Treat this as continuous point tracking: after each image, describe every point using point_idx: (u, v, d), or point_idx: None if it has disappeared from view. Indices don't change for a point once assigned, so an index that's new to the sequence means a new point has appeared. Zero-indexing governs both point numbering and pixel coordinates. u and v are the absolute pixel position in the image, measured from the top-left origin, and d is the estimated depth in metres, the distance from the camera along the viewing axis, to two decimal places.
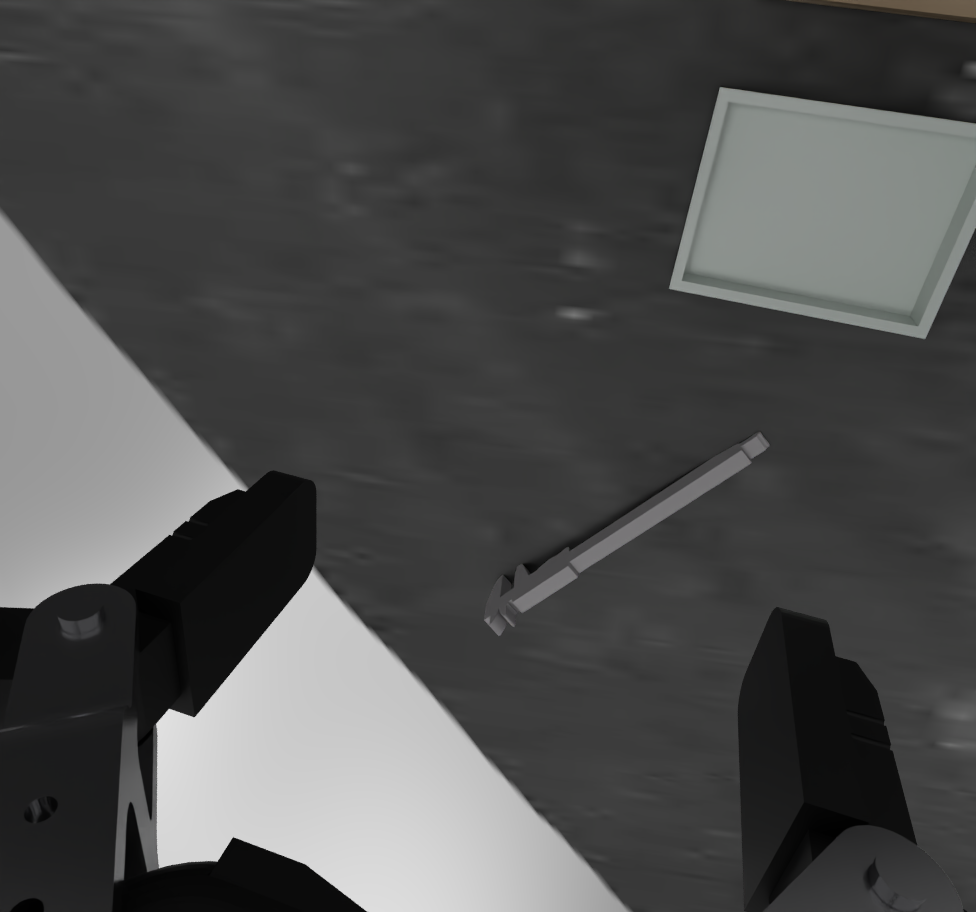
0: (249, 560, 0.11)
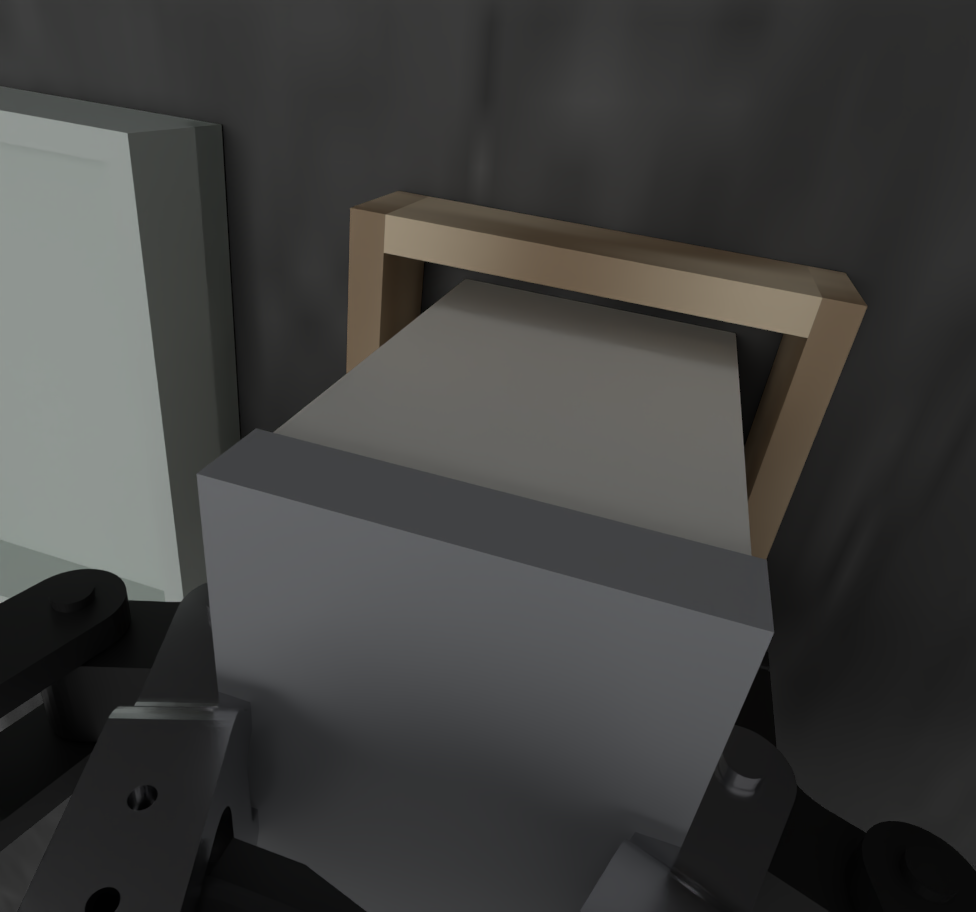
0: None
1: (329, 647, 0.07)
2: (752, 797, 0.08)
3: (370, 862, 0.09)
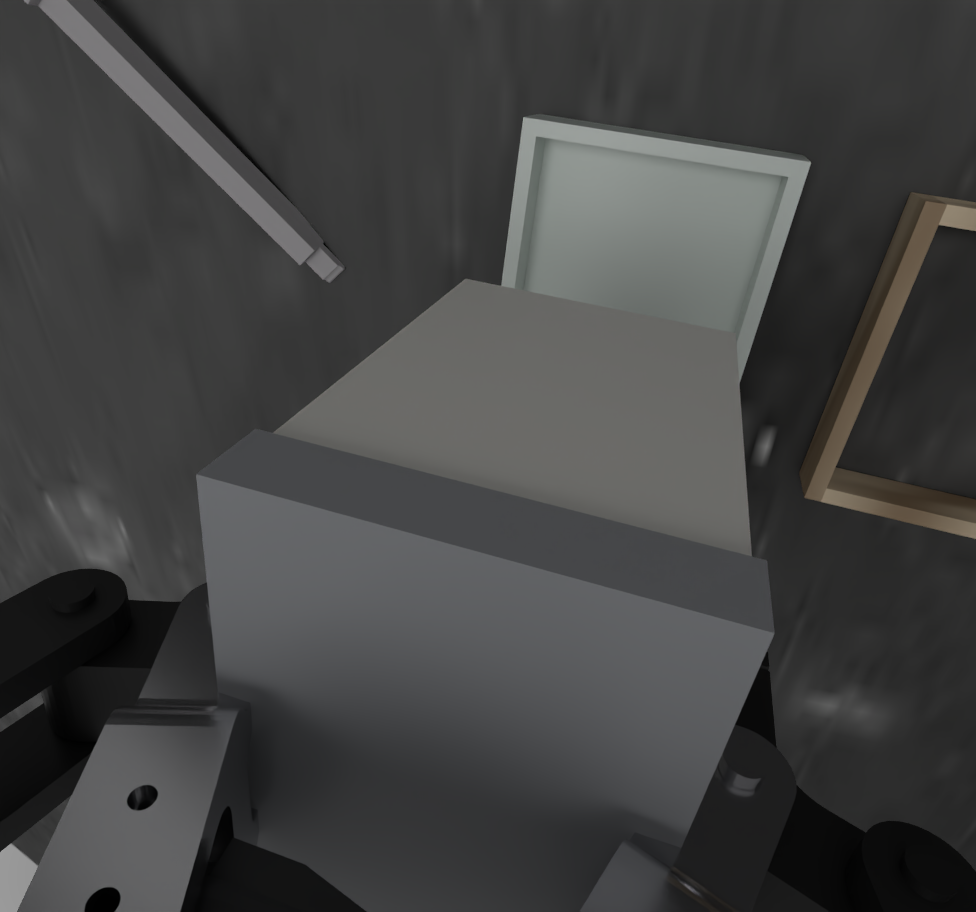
0: None
1: (329, 647, 0.07)
2: (752, 797, 0.08)
3: (370, 862, 0.09)
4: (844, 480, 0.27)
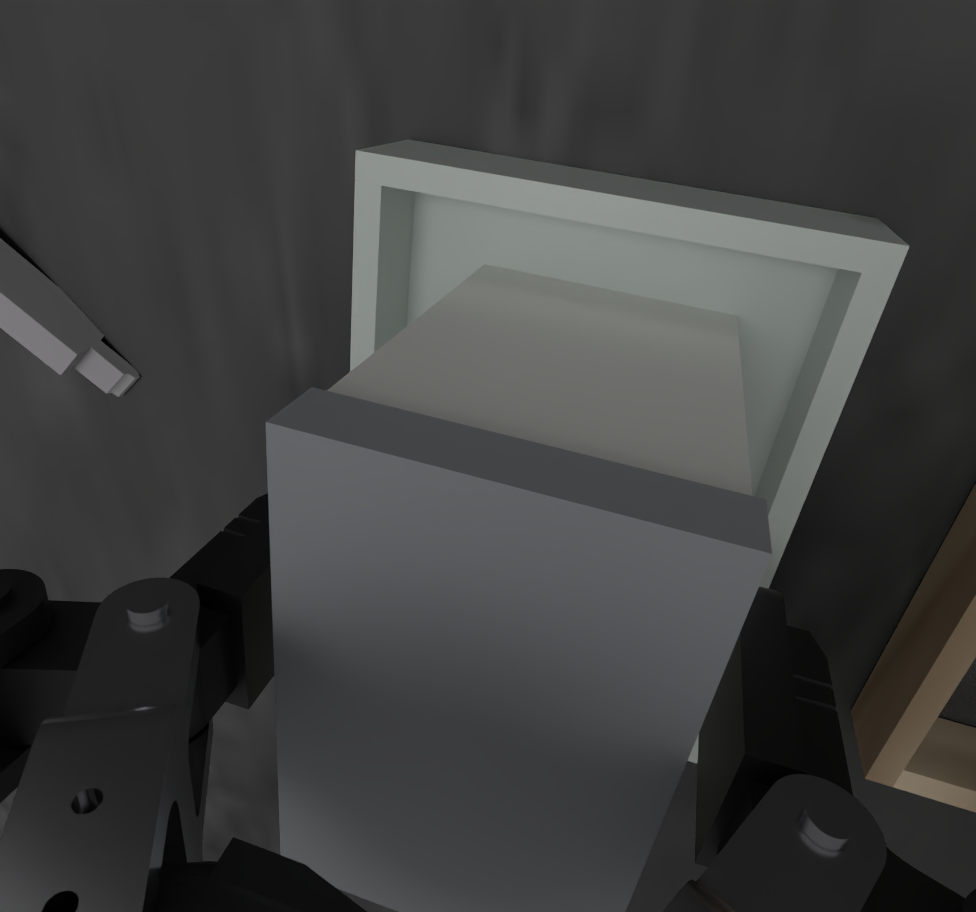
0: None
1: (377, 580, 0.08)
2: (841, 859, 0.07)
3: (405, 785, 0.10)
4: (930, 744, 0.16)
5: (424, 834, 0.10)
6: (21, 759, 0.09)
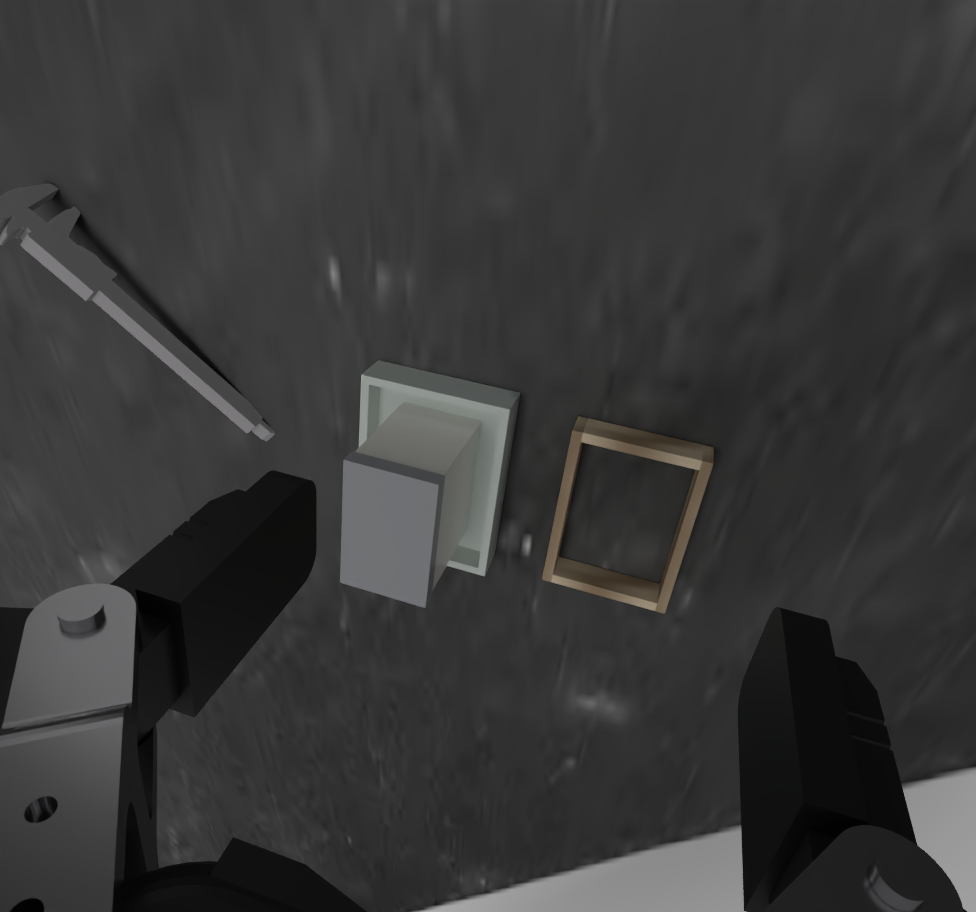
0: (249, 559, 0.11)
1: (366, 493, 0.37)
2: None
3: (374, 548, 0.39)
4: (567, 568, 0.45)
5: (379, 563, 0.39)
6: None
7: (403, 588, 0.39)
